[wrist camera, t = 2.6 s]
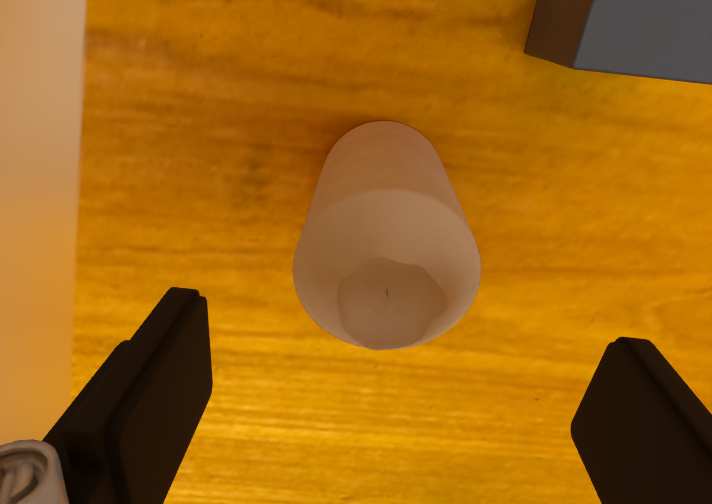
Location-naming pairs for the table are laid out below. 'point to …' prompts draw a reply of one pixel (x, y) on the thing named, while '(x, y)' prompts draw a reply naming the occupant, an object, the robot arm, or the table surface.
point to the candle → (385, 242)
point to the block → (626, 37)
